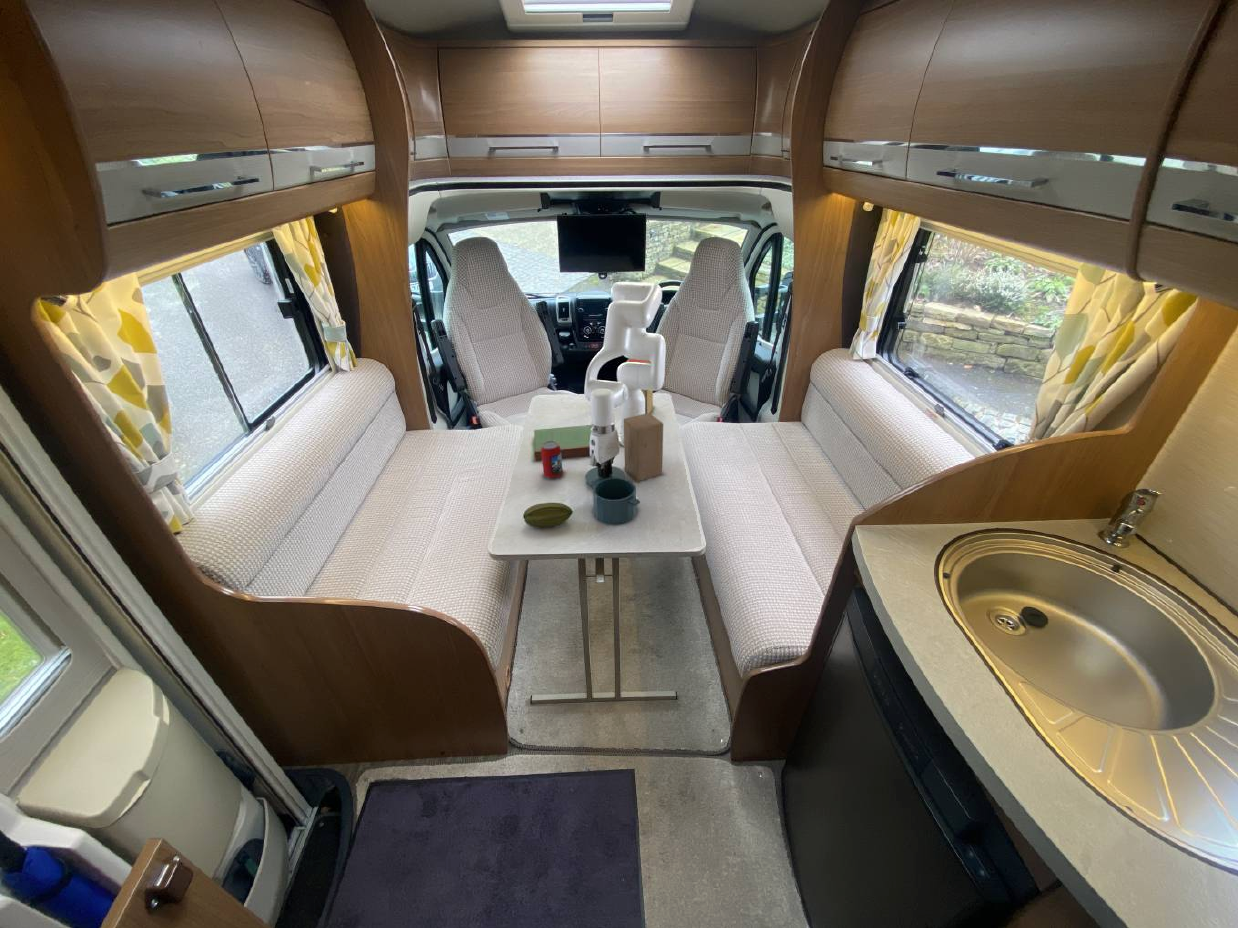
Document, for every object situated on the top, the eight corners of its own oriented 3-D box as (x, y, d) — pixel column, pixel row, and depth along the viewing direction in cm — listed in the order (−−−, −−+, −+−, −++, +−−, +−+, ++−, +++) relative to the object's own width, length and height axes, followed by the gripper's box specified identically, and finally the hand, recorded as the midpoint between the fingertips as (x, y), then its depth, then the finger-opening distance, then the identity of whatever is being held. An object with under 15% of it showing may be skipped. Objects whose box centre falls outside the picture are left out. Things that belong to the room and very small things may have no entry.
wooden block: (637, 482, 170) (637, 429, 160) (624, 469, 178) (623, 418, 168) (662, 474, 174) (663, 423, 164) (648, 462, 182) (648, 412, 172)
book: (535, 460, 185) (534, 452, 183) (535, 438, 201) (534, 430, 199) (602, 454, 188) (601, 445, 186) (596, 432, 204) (596, 424, 202)
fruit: (548, 508, 158) (546, 490, 155) (575, 522, 151) (574, 504, 148) (520, 525, 151) (518, 507, 147) (548, 541, 144) (546, 522, 141)
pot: (608, 492, 165) (607, 470, 161) (651, 513, 154) (651, 490, 150) (580, 509, 157) (578, 486, 153) (622, 533, 146) (622, 509, 142)
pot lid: (605, 464, 179) (604, 449, 176) (633, 477, 171) (633, 462, 168) (577, 479, 171) (575, 464, 168) (605, 494, 163) (605, 478, 160)
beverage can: (559, 480, 173) (556, 449, 167) (541, 478, 174) (537, 448, 168) (565, 470, 178) (562, 440, 172) (547, 468, 180) (544, 439, 174)
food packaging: (633, 405, 227) (633, 351, 215) (653, 406, 225) (654, 353, 212) (626, 417, 216) (625, 361, 204) (647, 419, 214) (647, 363, 201)
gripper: (593, 438, 154) (596, 488, 163) (628, 421, 164) (629, 469, 173) (577, 431, 158) (580, 480, 168) (611, 415, 168) (613, 462, 178)
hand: (605, 474), depth 170 cm, fingers closed on pot lid, 2 cm apart
